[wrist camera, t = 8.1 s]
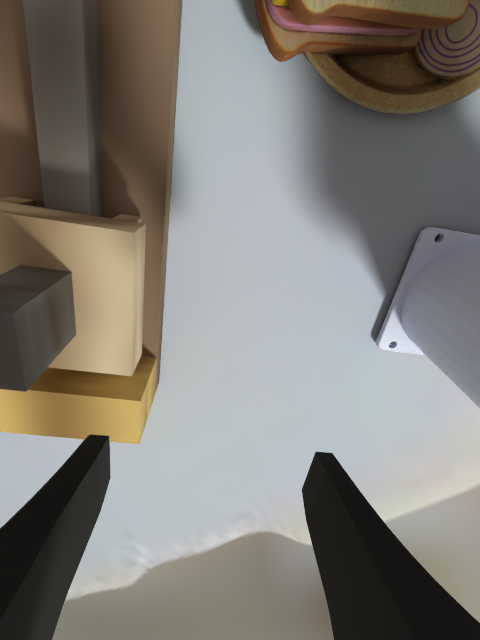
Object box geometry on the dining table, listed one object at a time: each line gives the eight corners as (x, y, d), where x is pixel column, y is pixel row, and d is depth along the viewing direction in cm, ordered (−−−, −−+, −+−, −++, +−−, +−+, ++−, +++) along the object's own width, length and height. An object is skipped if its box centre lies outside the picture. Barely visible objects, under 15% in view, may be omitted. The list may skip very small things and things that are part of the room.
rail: (202, -327, 10) (176, -797, 5) (159, 381, 22) (139, 443, 17) (-72, -419, 9) (-413, -1077, 4) (38, 368, 21) (-18, 430, 17)
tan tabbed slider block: (152, 218, 16) (96, 260, 9) (148, 340, 19) (103, 440, 12) (1, 194, 15) (-183, 221, 8) (22, 325, 18) (-100, 422, 11)
